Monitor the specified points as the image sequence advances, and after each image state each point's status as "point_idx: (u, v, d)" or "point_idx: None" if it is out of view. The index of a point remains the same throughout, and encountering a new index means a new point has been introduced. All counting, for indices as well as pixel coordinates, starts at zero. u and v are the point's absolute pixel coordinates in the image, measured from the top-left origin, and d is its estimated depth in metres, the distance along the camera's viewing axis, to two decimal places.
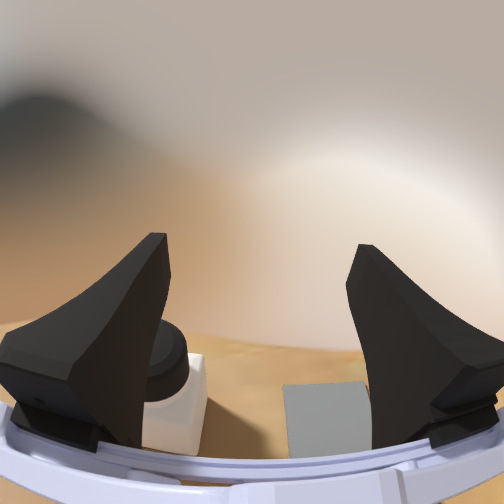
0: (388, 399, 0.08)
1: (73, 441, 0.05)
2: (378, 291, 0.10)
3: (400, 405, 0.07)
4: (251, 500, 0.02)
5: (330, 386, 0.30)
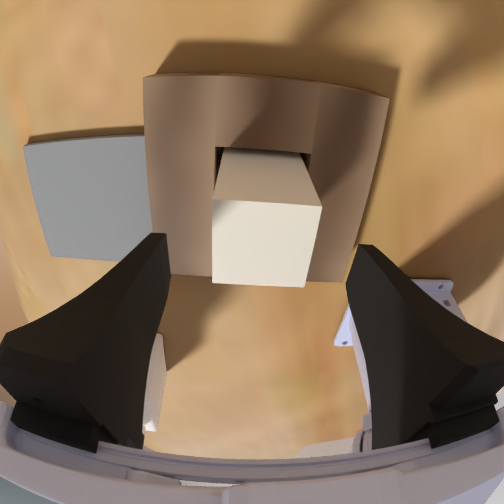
0: (388, 399, 0.08)
1: (73, 441, 0.05)
2: (378, 291, 0.10)
3: (400, 405, 0.07)
4: (251, 500, 0.02)
5: (38, 199, 0.18)
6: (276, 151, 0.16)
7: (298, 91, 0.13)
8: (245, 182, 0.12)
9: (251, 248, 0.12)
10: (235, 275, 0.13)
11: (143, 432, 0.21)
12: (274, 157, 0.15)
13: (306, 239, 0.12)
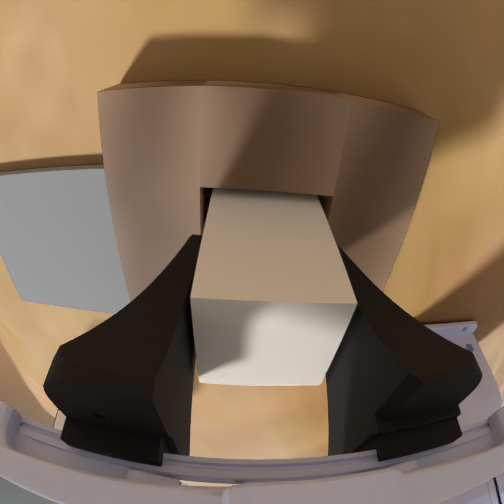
0: (341, 404, 0.08)
1: (73, 441, 0.05)
2: None
3: (350, 412, 0.07)
4: (251, 500, 0.02)
5: None
6: None
7: (319, 109, 0.09)
8: (242, 256, 0.08)
9: (250, 352, 0.08)
10: (229, 377, 0.09)
11: None
12: (282, 201, 0.11)
13: (329, 340, 0.08)
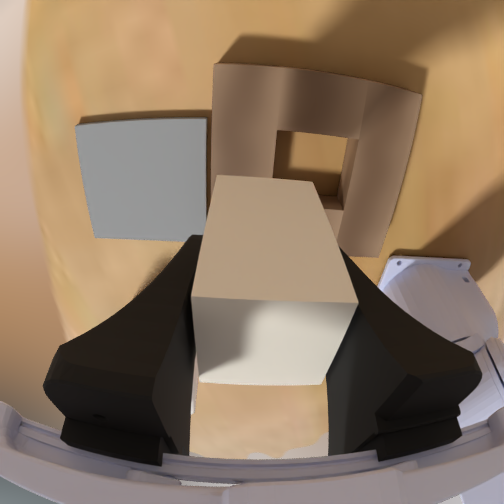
0: (341, 404, 0.08)
1: (73, 441, 0.05)
2: None
3: (350, 412, 0.07)
4: (251, 500, 0.02)
5: (87, 179, 0.19)
6: (285, 189, 0.12)
7: (350, 85, 0.15)
8: (243, 255, 0.08)
9: (251, 351, 0.08)
10: (230, 376, 0.09)
11: None
12: (283, 201, 0.11)
13: (330, 339, 0.08)
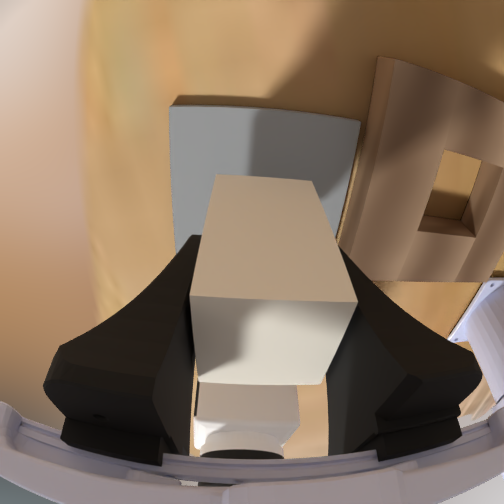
0: (341, 404, 0.08)
1: (73, 441, 0.05)
2: None
3: (350, 412, 0.07)
4: (251, 500, 0.02)
5: (178, 184, 0.15)
6: (285, 188, 0.12)
7: None
8: (242, 254, 0.08)
9: (250, 351, 0.08)
10: (229, 376, 0.09)
11: None
12: (282, 200, 0.11)
13: (329, 339, 0.08)
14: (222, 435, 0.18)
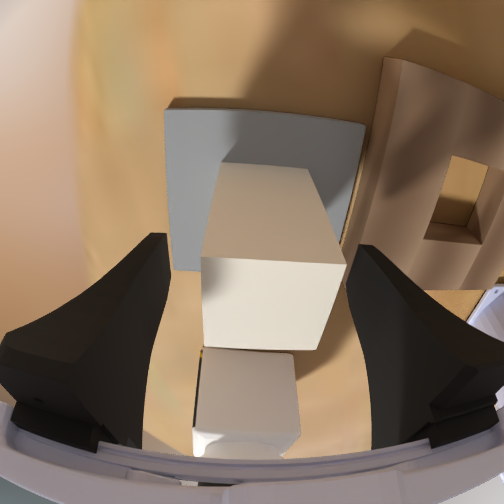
0: (388, 399, 0.08)
1: (73, 441, 0.05)
2: (378, 291, 0.10)
3: (400, 405, 0.07)
4: (251, 500, 0.02)
5: (175, 191, 0.15)
6: (283, 174, 0.13)
7: None
8: (245, 225, 0.10)
9: (252, 312, 0.10)
10: (232, 339, 0.10)
11: None
12: (281, 184, 0.12)
13: (323, 301, 0.09)
14: (221, 446, 0.18)
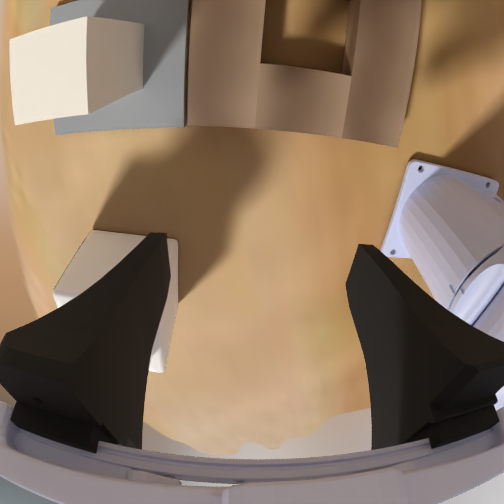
0: (388, 399, 0.08)
1: (73, 441, 0.05)
2: (378, 291, 0.10)
3: (399, 405, 0.07)
4: (251, 500, 0.02)
5: None
6: None
7: None
8: None
9: (36, 77, 0.09)
10: (29, 111, 0.09)
11: None
12: None
13: (78, 54, 0.08)
14: None
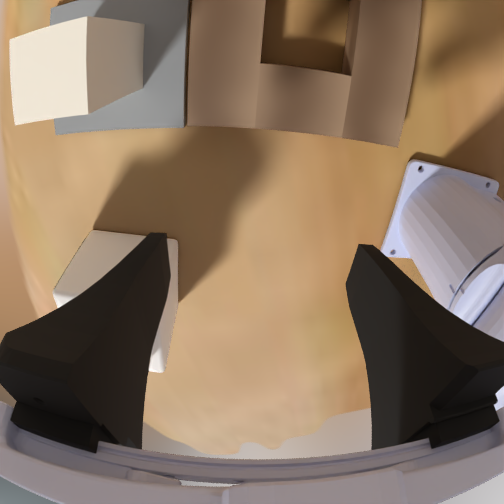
0: (388, 399, 0.08)
1: (73, 441, 0.05)
2: (378, 291, 0.10)
3: (399, 405, 0.07)
4: (251, 500, 0.02)
5: None
6: None
7: None
8: None
9: (36, 77, 0.09)
10: (29, 111, 0.09)
11: None
12: None
13: (78, 54, 0.08)
14: None
